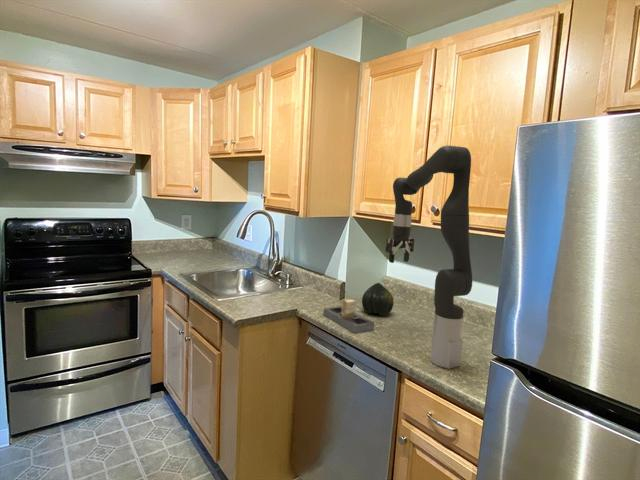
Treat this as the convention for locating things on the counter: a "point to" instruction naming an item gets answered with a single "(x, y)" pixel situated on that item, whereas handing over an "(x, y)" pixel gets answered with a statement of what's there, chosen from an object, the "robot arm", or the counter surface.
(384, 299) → the squash
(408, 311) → the counter surface
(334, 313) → the gray slotted tray
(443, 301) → the robot arm
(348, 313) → the square peg
